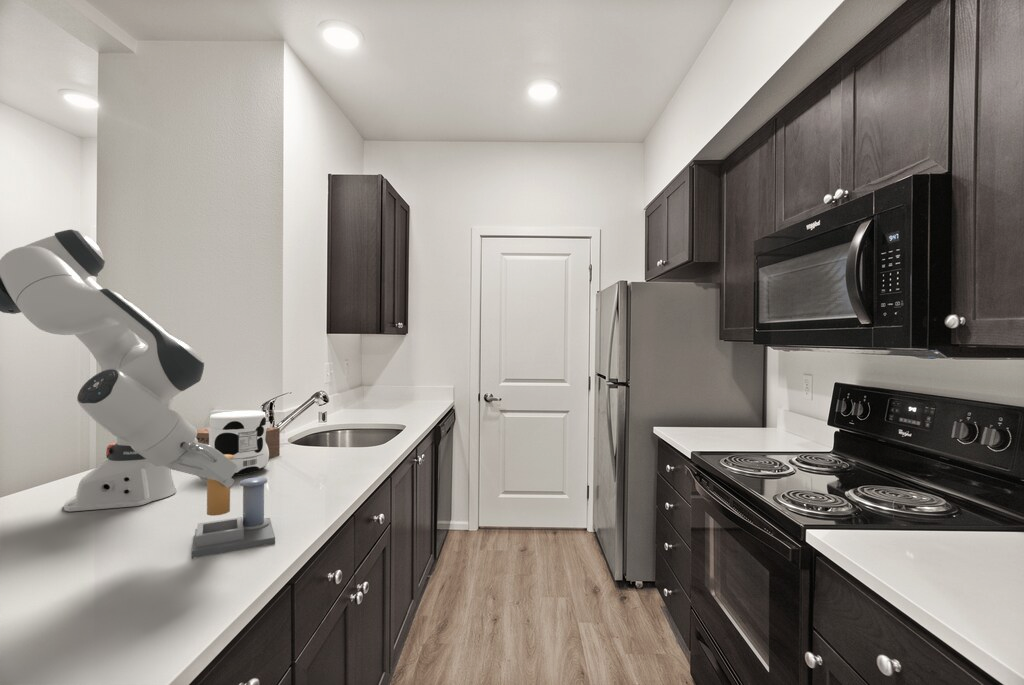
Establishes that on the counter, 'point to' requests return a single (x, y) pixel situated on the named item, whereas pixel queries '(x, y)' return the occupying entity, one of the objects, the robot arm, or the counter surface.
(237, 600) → the counter surface
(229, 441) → the milk container
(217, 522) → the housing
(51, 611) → the counter surface
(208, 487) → the pin
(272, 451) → the tissue box cover
